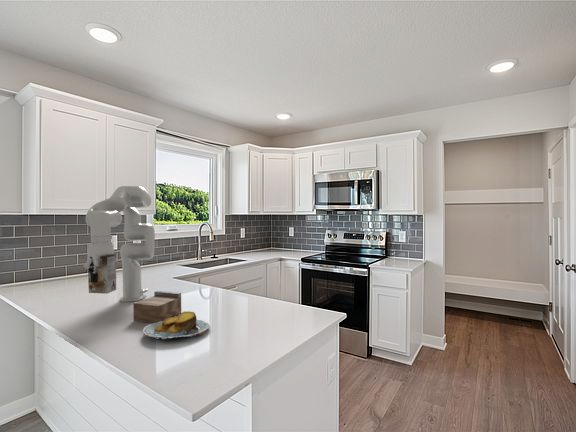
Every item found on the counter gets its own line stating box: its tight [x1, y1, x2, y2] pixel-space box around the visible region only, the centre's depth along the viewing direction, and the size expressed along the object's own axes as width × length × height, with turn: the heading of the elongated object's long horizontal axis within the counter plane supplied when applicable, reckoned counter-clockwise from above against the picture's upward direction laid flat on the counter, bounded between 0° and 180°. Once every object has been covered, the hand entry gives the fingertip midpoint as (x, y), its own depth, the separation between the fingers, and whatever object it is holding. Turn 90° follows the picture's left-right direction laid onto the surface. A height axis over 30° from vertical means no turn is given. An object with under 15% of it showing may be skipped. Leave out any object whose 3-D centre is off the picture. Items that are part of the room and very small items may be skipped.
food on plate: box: [142, 310, 210, 340], centre depth 126 cm, size 25×25×7 cm
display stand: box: [132, 290, 182, 324], centre depth 144 cm, size 15×14×10 cm
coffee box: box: [87, 253, 117, 294], centre depth 136 cm, size 9×6×16 cm
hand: (102, 279), depth 136 cm, fingers closed on coffee box, 7 cm apart
